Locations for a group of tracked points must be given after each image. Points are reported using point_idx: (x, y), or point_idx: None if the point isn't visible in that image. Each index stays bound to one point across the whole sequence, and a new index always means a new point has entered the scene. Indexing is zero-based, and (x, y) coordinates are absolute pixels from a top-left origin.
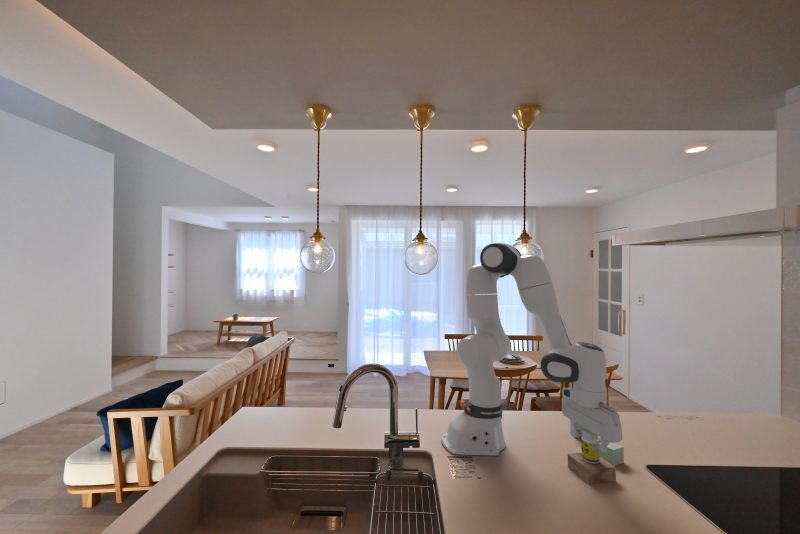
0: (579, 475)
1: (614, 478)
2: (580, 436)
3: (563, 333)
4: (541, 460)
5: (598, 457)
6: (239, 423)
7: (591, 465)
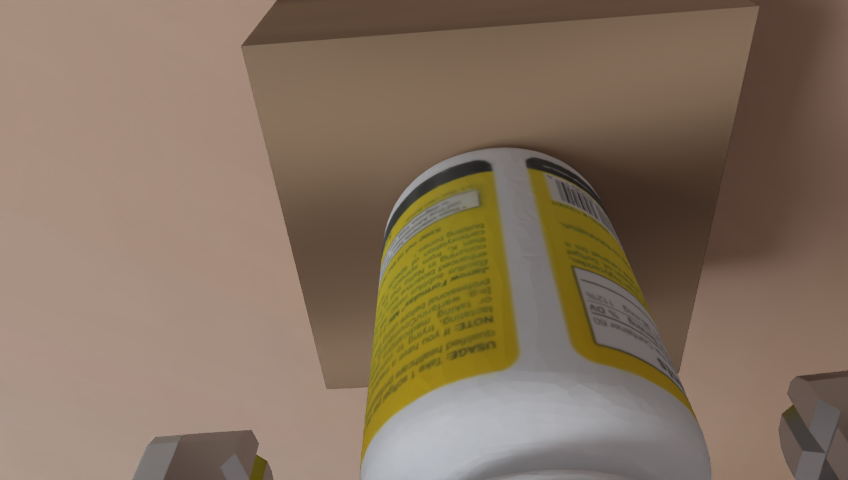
0: None
1: None
2: (255, 458)
3: None
4: (248, 421)
5: (619, 244)
6: None
7: None
